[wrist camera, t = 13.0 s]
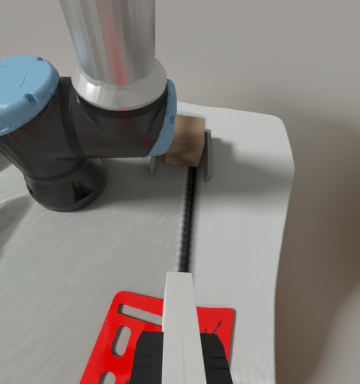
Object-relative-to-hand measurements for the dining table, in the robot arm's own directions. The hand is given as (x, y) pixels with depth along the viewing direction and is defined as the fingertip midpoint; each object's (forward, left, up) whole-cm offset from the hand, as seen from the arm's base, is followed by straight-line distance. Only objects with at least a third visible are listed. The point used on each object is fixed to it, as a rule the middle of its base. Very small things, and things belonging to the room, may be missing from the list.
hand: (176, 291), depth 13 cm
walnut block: (+2, +33, -26) cm, 42 cm away
